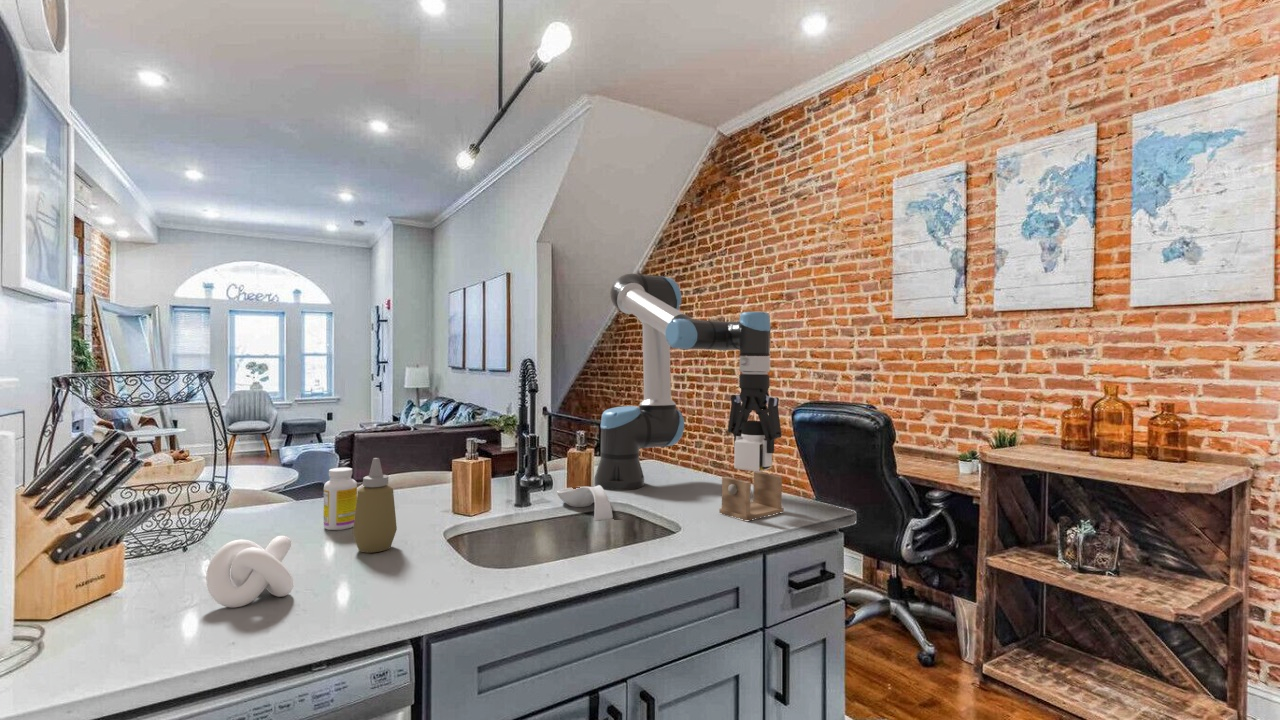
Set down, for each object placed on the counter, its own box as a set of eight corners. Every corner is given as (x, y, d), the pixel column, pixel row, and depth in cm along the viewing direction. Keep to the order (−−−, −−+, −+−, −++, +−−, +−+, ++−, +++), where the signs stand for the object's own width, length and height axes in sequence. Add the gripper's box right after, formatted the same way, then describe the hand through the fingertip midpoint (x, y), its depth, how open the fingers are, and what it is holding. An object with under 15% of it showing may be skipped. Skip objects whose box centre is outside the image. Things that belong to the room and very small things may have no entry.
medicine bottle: (759, 472, 145) (760, 423, 145) (733, 468, 149) (734, 421, 149) (772, 468, 151) (773, 420, 151) (746, 465, 155) (747, 418, 155)
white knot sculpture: (239, 583, 100) (239, 529, 100) (314, 581, 101) (314, 529, 101) (195, 612, 89) (196, 552, 89) (280, 610, 90) (280, 551, 90)
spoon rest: (550, 501, 160) (551, 474, 160) (591, 497, 165) (592, 471, 165) (581, 524, 139) (582, 493, 139) (627, 519, 144) (628, 489, 144)
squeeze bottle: (380, 557, 114) (381, 463, 114) (343, 553, 115) (344, 460, 115) (405, 544, 122) (406, 456, 121) (369, 541, 123) (371, 454, 123)
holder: (717, 513, 149) (718, 477, 149) (757, 505, 159) (757, 470, 158) (745, 522, 142) (746, 483, 142) (784, 512, 152) (785, 476, 151)
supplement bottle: (362, 523, 136) (363, 467, 136) (345, 531, 129) (346, 472, 129) (335, 521, 136) (335, 465, 136) (316, 530, 130) (317, 471, 130)
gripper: (714, 372, 156) (713, 459, 156) (778, 374, 140) (777, 471, 140) (733, 372, 160) (732, 456, 160) (798, 374, 144) (796, 468, 144)
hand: (753, 463), depth 150 cm, fingers closed on medicine bottle, 8 cm apart
